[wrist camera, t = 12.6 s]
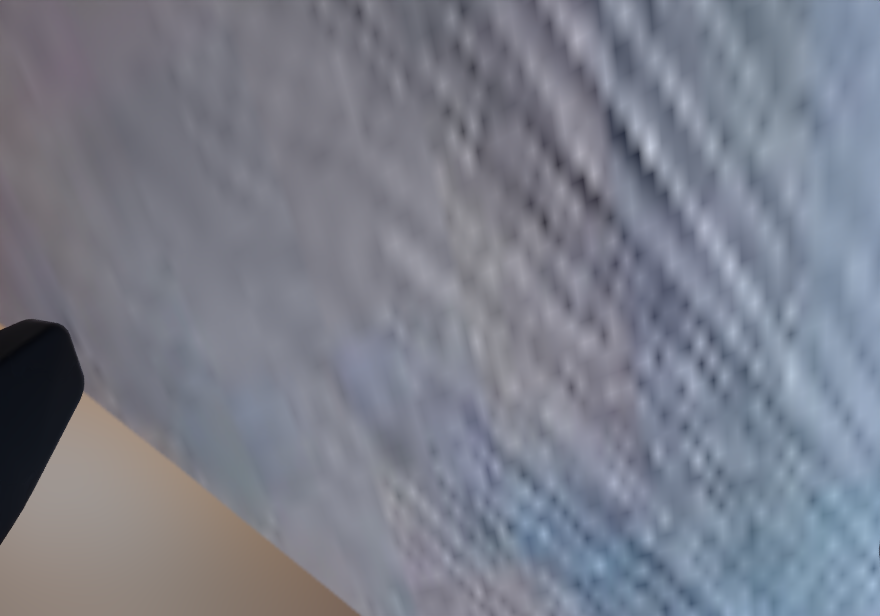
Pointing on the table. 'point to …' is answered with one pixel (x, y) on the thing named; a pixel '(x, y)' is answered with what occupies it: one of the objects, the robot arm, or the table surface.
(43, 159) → the table surface
